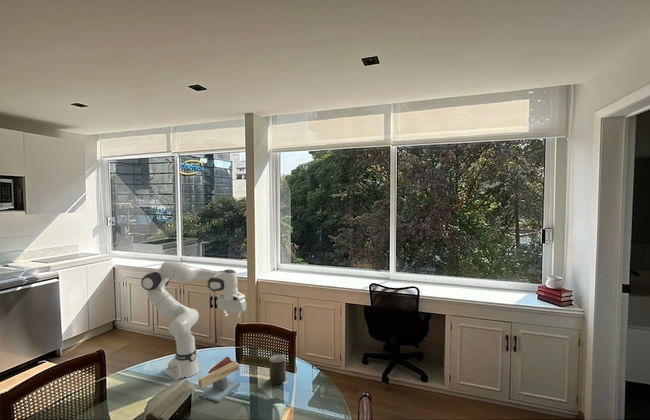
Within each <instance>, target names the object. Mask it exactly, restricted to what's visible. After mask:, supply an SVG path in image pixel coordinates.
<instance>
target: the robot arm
mask: <svg viewBox="0 0 650 420" xmlns="http://www.w3.org/2000/svg"><path fill="white" fill-rule="evenodd" d="M199 279H200V280H201V279H202V280H205V281H206V280H207V282H206V284H207V288H208V289H209V290H210V291H211V292H219V291H223V294H222V293H221V294H220V293H219V294H218V295H217V302H216V303H217V305H216V307H217V308H218V309H219V310H222V313H223V316H224V317H228V316H229V313H228V312H227V311H232V312H236V313H237V314H236V315H235V318H236V319H240V317H241V314H242V313H243V312H245V311H246V310H247V302H246V299H245V298H246V296H245V294H243V293H241V291H239V288H238V275H237V271H235V270H233V269H224V270H220V271H218V270H217V271H216V270H210V269H205V268H202V267H196V266H193V265H188V264H186V263H185V264H184V263H182V262H177V261H172V260H171V261H170V260H169V261H168V260H167V261H164V262H163V263H162V264H161V265H160V267H159V268H158V269H154V270H152V271H150V272H149V273H146V274H145V275H144V276H143V277H142V279H141V281H140V284H141V287H142V288H143V289H144V290H145V291H147V293H146V297H147V299H148V300H149V301H150V303H151V304H152V305H153V307H154V308H156V309H157V311H159V312H160V313H161V314H162V315H163V316H165V317H170V318H172V320H171V322H170V323H169V325H168V332H169V334H170V335H171V336H172V337H174V339H175V347H176V351H175V352H174V354H173V355H175V356H174V357H173V358H172V359H170V361H169V362H168V363H167V368H165V369H164V371H163V374H164V375H167V376H168V377H171V378H172V379H175V380H181V379H185V378H184V377H186V378H191V377H192V376H195V375H196V374H198V372H199V371H200V367H199V366H200V363H199V362H198V355H197V348H196V339H195V335H193V334H192V332H191V329H192V327H193V326H194V325H195V324H196V323H197V322H198V320H199V318H200V314H199V313H200V312H198V310H197V309H195V308H191V307H188V306H185V305H183V303H180V302H179V301H178V300H177V299H175V298H174V296H172V295H171V293H169V292H168V291H167V290H166V288H165V287H167V286H168V285H169V282H170V280H173V281H176V282H181V283H182V282H184V283H186V282H190V281H194V280H199ZM180 378H181V379H180Z"/></svg>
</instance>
